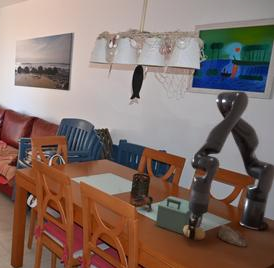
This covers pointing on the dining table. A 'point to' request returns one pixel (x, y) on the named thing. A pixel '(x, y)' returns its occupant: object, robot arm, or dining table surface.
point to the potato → (198, 234)
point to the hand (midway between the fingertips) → (193, 236)
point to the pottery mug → (148, 202)
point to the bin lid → (175, 205)
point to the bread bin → (172, 219)
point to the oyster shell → (230, 236)
